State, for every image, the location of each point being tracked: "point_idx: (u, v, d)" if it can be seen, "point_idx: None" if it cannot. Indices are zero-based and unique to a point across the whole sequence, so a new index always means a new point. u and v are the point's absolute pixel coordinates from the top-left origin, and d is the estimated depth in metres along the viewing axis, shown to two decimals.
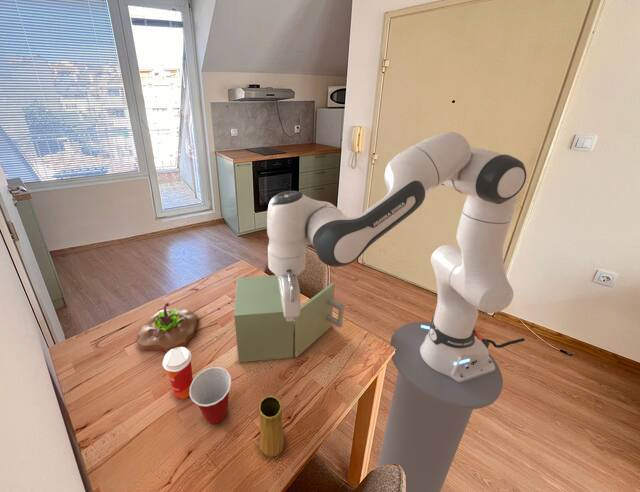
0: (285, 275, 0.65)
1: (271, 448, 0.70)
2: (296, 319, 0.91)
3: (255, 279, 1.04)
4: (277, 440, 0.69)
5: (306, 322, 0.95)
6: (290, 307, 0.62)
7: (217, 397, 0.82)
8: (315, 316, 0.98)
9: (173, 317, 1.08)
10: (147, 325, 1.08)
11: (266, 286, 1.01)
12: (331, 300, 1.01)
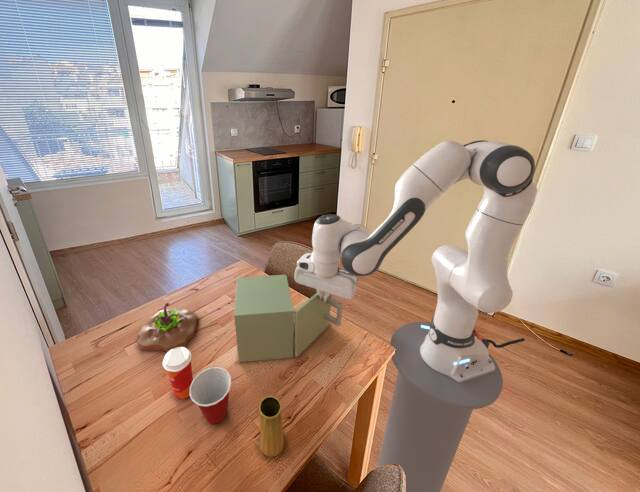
0: (337, 273, 0.89)
1: (271, 448, 0.70)
2: (296, 319, 0.91)
3: (255, 279, 1.04)
4: (277, 440, 0.69)
5: (306, 322, 0.95)
6: (354, 289, 0.89)
7: (217, 397, 0.82)
8: (314, 315, 0.99)
9: (173, 317, 1.08)
10: (147, 325, 1.08)
11: (266, 286, 1.01)
12: (329, 299, 1.02)
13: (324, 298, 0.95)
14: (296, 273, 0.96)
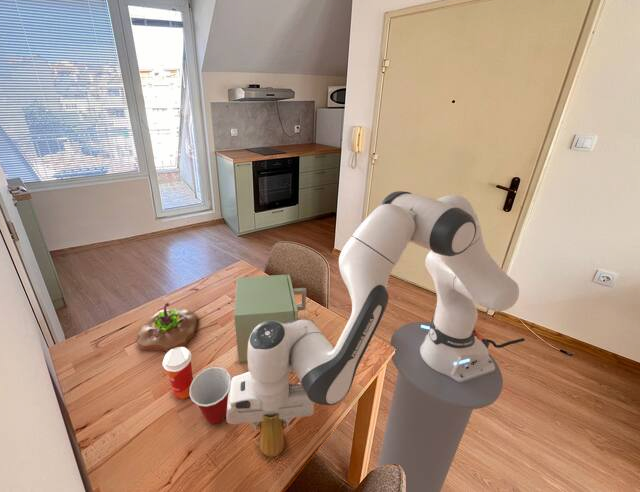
0: (289, 392, 0.65)
1: (271, 448, 0.70)
2: None
3: (255, 279, 1.04)
4: (277, 440, 0.69)
5: None
6: None
7: (217, 397, 0.82)
8: None
9: (173, 317, 1.08)
10: (147, 325, 1.08)
11: (266, 286, 1.01)
12: (293, 290, 1.07)
13: (287, 423, 0.70)
14: (230, 415, 0.64)
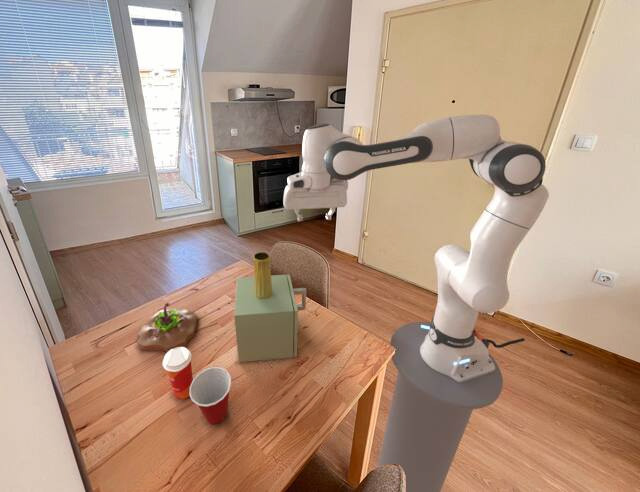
0: (329, 183, 0.90)
1: (262, 290, 0.94)
2: (296, 319, 0.91)
3: None
4: (267, 284, 0.93)
5: None
6: None
7: (217, 397, 0.82)
8: None
9: (173, 317, 1.08)
10: (147, 325, 1.08)
11: None
12: (293, 290, 1.07)
13: (330, 216, 0.95)
14: (288, 197, 0.89)
